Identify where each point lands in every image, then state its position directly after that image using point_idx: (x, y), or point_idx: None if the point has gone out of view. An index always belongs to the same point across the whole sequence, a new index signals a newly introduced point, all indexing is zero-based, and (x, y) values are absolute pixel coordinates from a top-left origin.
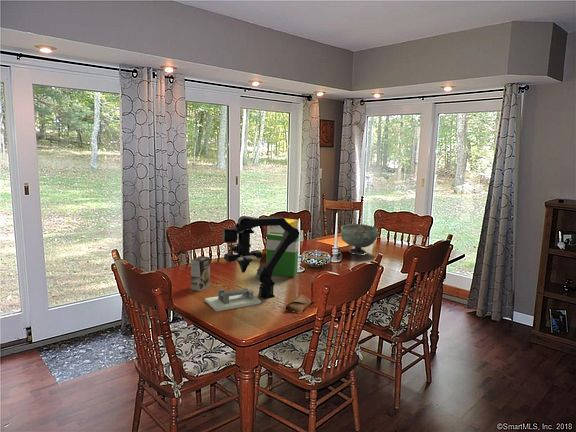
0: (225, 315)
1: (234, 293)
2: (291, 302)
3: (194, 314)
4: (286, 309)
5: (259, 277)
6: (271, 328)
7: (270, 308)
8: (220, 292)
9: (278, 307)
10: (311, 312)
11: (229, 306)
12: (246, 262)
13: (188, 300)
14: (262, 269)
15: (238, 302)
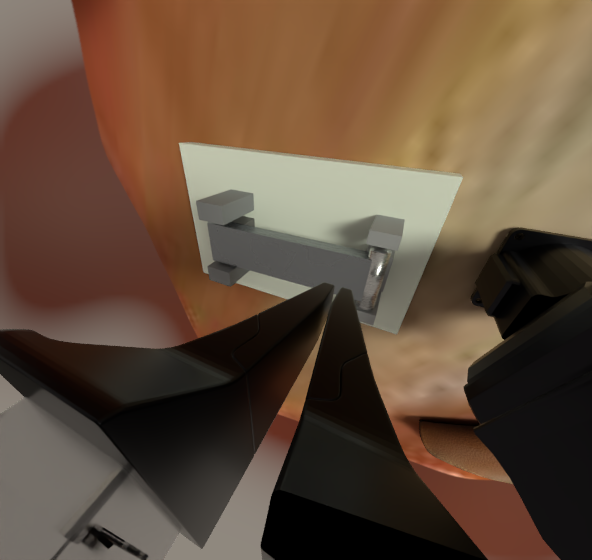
0: (229, 306)
1: (269, 274)
2: (447, 462)
3: (153, 242)
4: (422, 424)
5: (467, 394)
6: (298, 418)
7: (390, 373)
8: (207, 225)
9: (426, 390)
10: (485, 478)
11: (249, 285)
12: (287, 502)
13: (125, 81)
14: (557, 512)
15: (294, 283)
